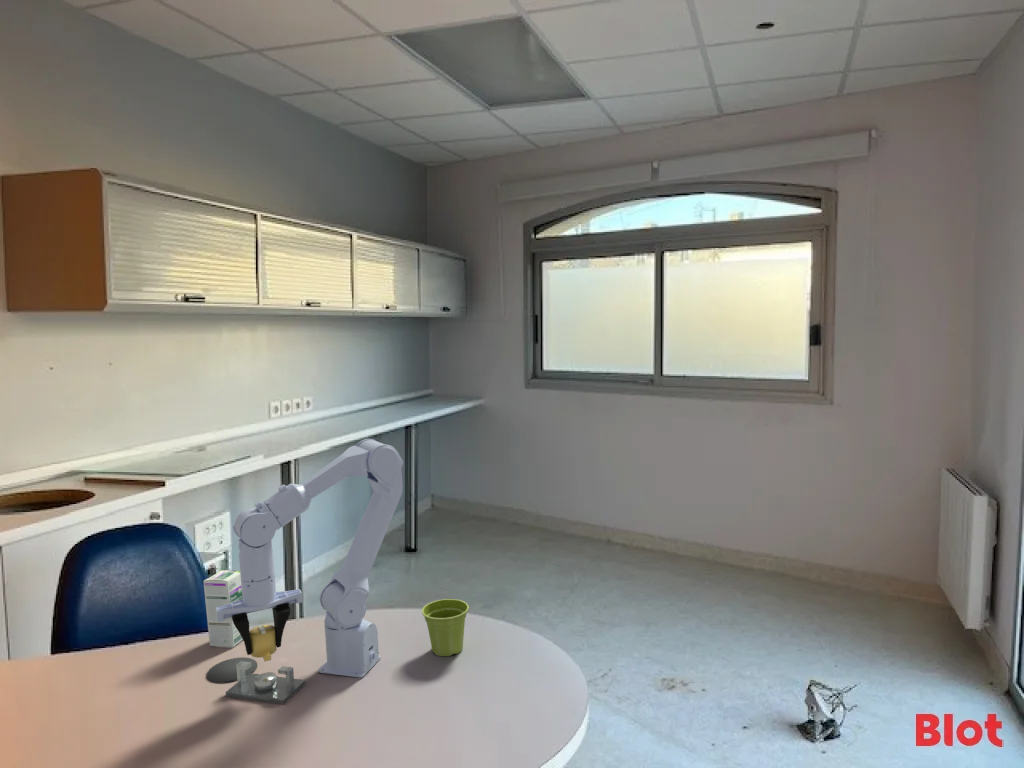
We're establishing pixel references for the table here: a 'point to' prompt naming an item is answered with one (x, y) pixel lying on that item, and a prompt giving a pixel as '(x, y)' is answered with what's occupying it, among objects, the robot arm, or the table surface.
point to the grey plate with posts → (265, 685)
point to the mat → (229, 670)
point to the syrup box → (218, 594)
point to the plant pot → (446, 625)
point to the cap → (263, 641)
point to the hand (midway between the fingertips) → (263, 648)
